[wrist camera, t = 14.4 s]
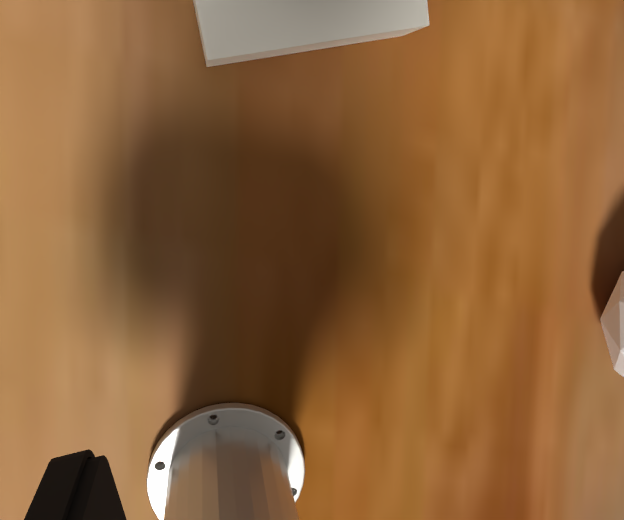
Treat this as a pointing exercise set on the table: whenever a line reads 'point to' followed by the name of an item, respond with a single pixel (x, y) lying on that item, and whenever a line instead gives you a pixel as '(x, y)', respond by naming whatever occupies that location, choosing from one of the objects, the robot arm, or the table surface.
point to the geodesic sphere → (615, 325)
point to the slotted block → (299, 25)
